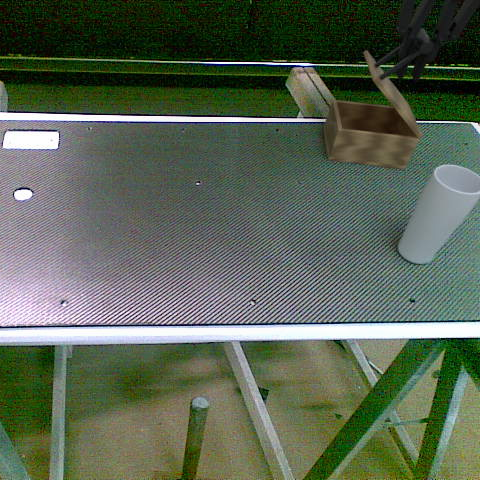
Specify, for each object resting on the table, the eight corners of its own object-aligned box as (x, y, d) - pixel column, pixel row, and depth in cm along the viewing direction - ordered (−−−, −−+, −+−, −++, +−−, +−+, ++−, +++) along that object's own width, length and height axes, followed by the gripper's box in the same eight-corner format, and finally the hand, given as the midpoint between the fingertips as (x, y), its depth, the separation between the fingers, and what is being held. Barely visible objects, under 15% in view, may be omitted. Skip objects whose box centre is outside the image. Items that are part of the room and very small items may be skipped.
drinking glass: (416, 234, 79) (461, 160, 68) (445, 264, 74) (498, 189, 63) (382, 243, 77) (422, 168, 66) (410, 273, 72) (458, 198, 62)
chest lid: (372, 80, 81) (430, 40, 75) (363, 52, 89) (414, 14, 83) (419, 138, 87) (475, 106, 81) (405, 107, 95) (456, 75, 89)
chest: (328, 160, 93) (338, 130, 88) (323, 128, 101) (332, 99, 96) (404, 169, 91) (420, 139, 87) (393, 137, 100) (406, 107, 95)
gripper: (520, -80, 70) (444, 72, 87) (415, -90, 71) (360, 62, 88) (541, -68, 65) (456, 91, 82) (427, -78, 66) (366, 81, 83)
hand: (406, 76), depth 85 cm, fingers closed on chest lid, 2 cm apart
